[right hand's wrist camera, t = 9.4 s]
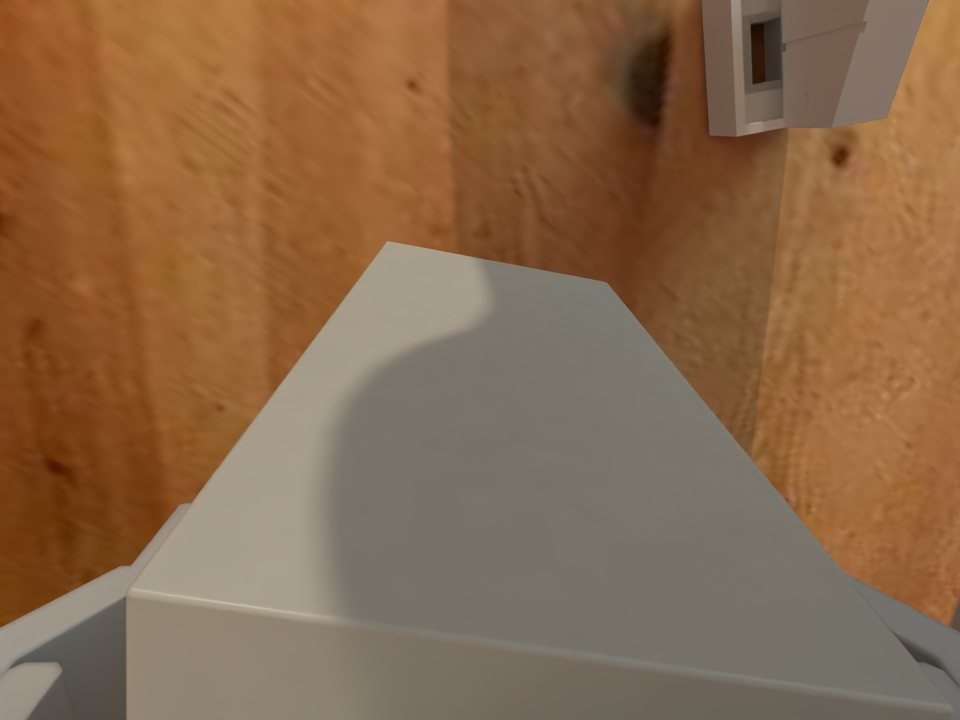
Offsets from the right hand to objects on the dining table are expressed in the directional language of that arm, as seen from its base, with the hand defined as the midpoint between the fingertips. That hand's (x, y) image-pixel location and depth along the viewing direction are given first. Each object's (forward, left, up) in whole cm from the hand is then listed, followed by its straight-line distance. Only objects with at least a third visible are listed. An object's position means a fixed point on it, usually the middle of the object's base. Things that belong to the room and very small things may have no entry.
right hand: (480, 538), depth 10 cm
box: (+6, +6, -8) cm, 11 cm away
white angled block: (-14, -1, -21) cm, 26 cm away
